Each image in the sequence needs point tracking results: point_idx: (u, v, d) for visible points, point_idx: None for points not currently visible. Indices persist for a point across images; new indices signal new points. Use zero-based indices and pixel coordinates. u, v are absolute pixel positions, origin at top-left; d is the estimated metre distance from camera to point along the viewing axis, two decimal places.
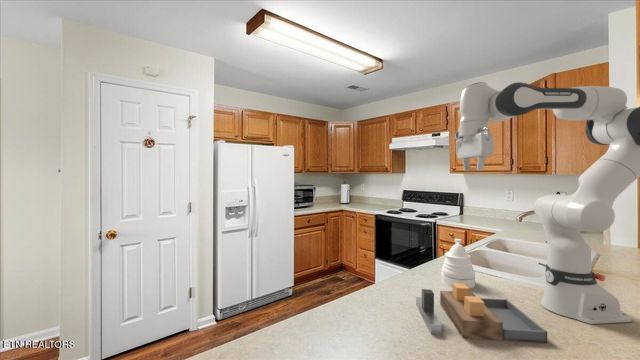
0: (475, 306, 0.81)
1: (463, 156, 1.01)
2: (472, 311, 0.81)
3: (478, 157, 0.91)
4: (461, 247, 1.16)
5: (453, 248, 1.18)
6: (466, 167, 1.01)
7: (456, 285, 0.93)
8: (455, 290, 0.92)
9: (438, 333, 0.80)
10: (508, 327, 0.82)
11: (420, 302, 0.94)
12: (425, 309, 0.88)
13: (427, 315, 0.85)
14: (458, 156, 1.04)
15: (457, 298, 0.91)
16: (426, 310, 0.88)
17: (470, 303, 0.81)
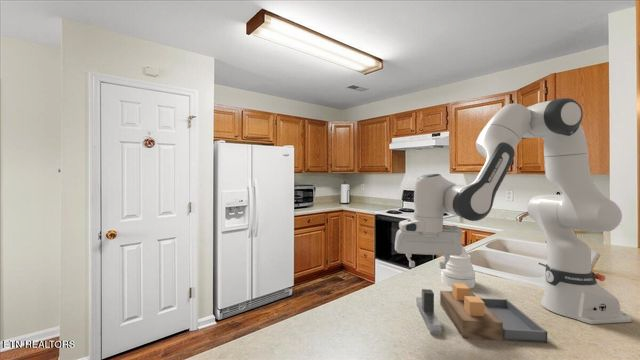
0: (475, 306, 0.81)
1: (416, 252, 0.87)
2: (472, 311, 0.81)
3: (448, 256, 0.87)
4: None
5: None
6: None
7: (456, 285, 0.93)
8: (455, 290, 0.92)
9: (438, 333, 0.80)
10: (508, 327, 0.82)
11: (420, 302, 0.94)
12: (425, 309, 0.88)
13: (427, 315, 0.85)
14: (404, 251, 0.88)
15: (457, 298, 0.91)
16: (426, 310, 0.88)
17: (470, 303, 0.81)
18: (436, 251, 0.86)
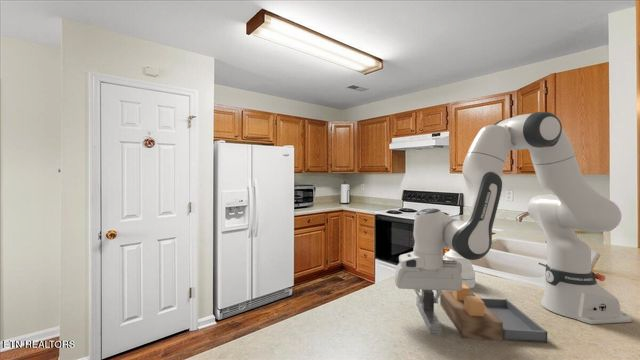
0: (475, 306, 0.81)
1: (417, 288, 0.87)
2: (472, 311, 0.81)
3: (440, 291, 0.87)
4: None
5: None
6: None
7: None
8: None
9: (438, 332, 0.80)
10: (508, 327, 0.82)
11: None
12: (425, 308, 0.88)
13: (427, 314, 0.85)
14: (404, 286, 0.88)
15: (457, 298, 0.91)
16: (426, 309, 0.88)
17: (470, 303, 0.81)
18: (436, 286, 0.87)
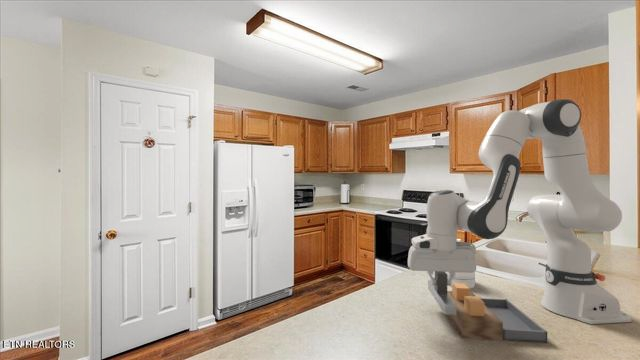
0: (475, 306, 0.81)
1: (430, 269, 0.87)
2: (472, 311, 0.81)
3: (453, 272, 0.87)
4: None
5: None
6: None
7: (456, 285, 0.93)
8: (455, 290, 0.92)
9: (453, 313, 0.79)
10: (508, 327, 0.82)
11: (433, 285, 0.93)
12: (438, 290, 0.87)
13: (441, 296, 0.85)
14: (417, 268, 0.87)
15: (457, 298, 0.91)
16: (439, 291, 0.87)
17: (470, 303, 0.81)
18: (450, 268, 0.86)
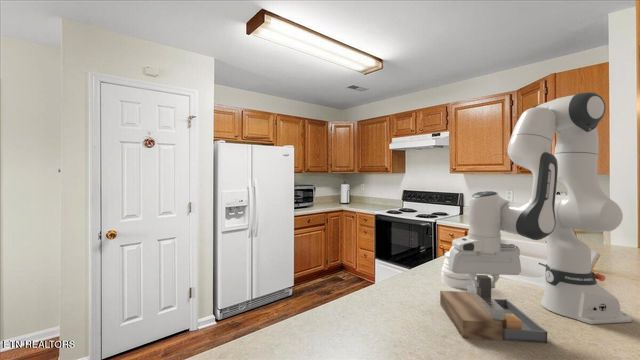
0: (517, 326, 0.79)
1: (473, 272, 0.86)
2: (511, 323, 0.79)
3: (497, 275, 0.86)
4: None
5: None
6: None
7: None
8: None
9: (501, 318, 0.78)
10: None
11: (473, 288, 0.92)
12: (482, 295, 0.86)
13: (485, 300, 0.83)
14: (460, 270, 0.86)
15: None
16: (483, 296, 0.86)
17: (519, 321, 0.79)
18: (494, 271, 0.85)
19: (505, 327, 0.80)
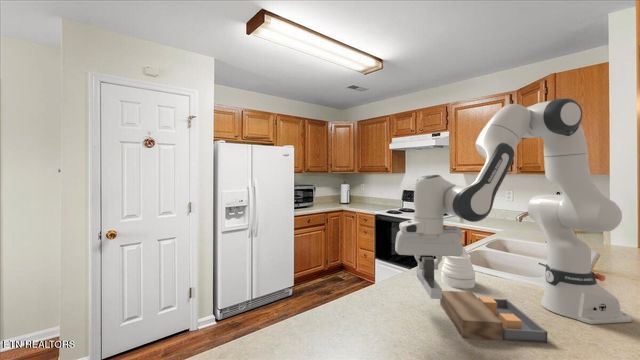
0: (517, 326, 0.79)
1: (417, 253, 0.87)
2: (511, 323, 0.79)
3: (440, 256, 0.87)
4: None
5: None
6: None
7: None
8: (491, 300, 0.91)
9: (438, 296, 0.80)
10: None
11: (420, 271, 0.94)
12: (425, 276, 0.87)
13: (427, 281, 0.85)
14: (404, 252, 0.88)
15: (485, 302, 0.90)
16: (426, 277, 0.87)
17: (519, 321, 0.79)
18: (437, 252, 0.87)
19: (505, 327, 0.80)
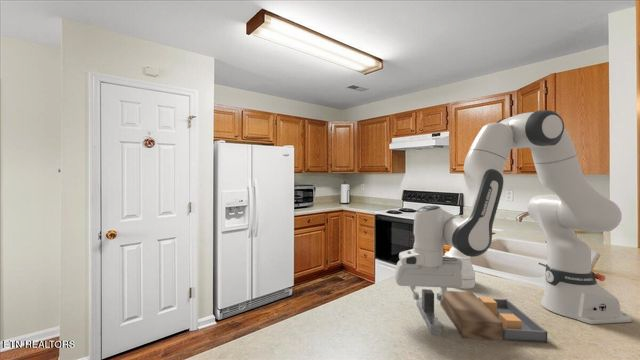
0: (517, 326, 0.79)
1: (417, 285, 0.87)
2: (511, 323, 0.79)
3: (445, 288, 0.87)
4: None
5: (453, 248, 1.18)
6: None
7: None
8: (491, 300, 0.91)
9: (438, 333, 0.80)
10: None
11: (420, 302, 0.94)
12: (425, 309, 0.88)
13: (427, 315, 0.85)
14: (404, 283, 0.88)
15: (485, 302, 0.90)
16: (426, 310, 0.88)
17: (519, 321, 0.79)
18: (436, 283, 0.87)
19: (505, 327, 0.80)
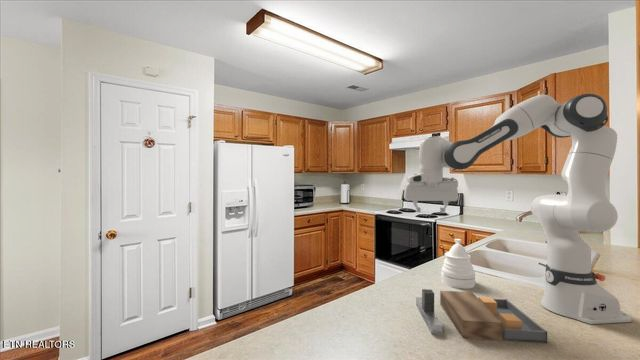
0: (517, 326, 0.79)
1: (421, 199, 1.09)
2: (511, 323, 0.79)
3: (446, 201, 1.09)
4: (461, 247, 1.16)
5: (453, 248, 1.18)
6: None
7: None
8: (491, 300, 0.91)
9: (439, 333, 0.80)
10: None
11: (420, 302, 0.94)
12: (425, 309, 0.88)
13: (427, 315, 0.85)
14: (411, 198, 1.09)
15: (485, 302, 0.90)
16: (426, 310, 0.88)
17: (519, 321, 0.79)
18: (437, 198, 1.08)
19: (505, 327, 0.80)
